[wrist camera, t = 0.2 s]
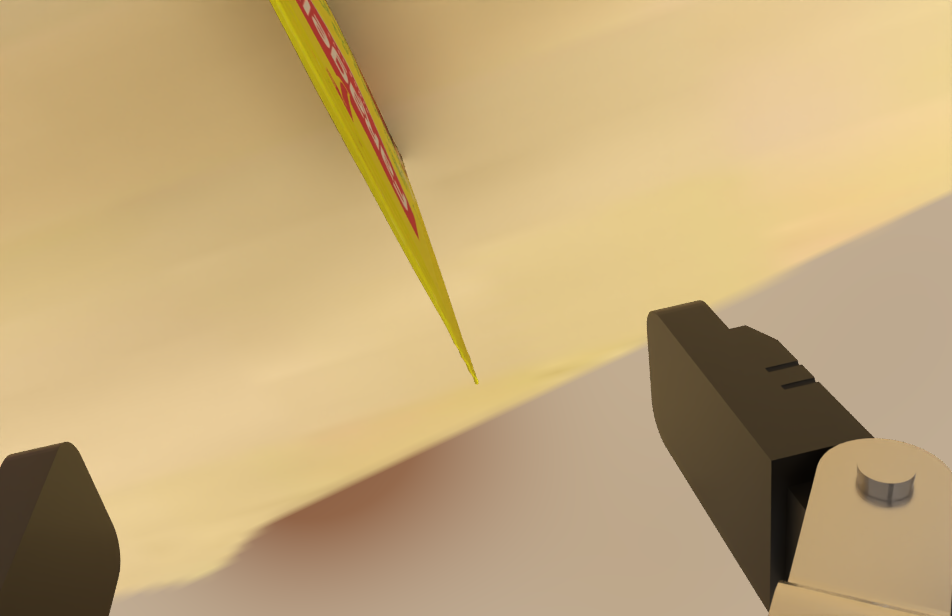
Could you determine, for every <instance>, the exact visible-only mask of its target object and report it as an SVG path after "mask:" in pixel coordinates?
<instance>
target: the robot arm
mask: <svg viewBox="0 0 952 616" xmlns="http://www.w3.org/2000/svg"><path fill="white" fill-rule="evenodd" d="M647 337H648V351H649V365H650V380H651V395H652V405H653V412H654V417H655V421H656V424H657V428H658V430H659V433H660V436H661V438H662V440H663V442H664V444H665V446H666V448H667V449H668V451H669V453H670V454H671V456H672V457H673V459H674V460H675V462H676V464H677V466H678V467H679V469H680V470H681V472H682V474H683V475H684V477H685V478H686V480H687V482H688V483H689V485H690V486H691V488H692V490H693V491H694V493H695V495H696V496H697V498H698V499H699V501H700V503H701V504H702V506H703V507H704V509H705V510H706V512H707V514H708V516H709V517H710V518H711V520H712V522H713V524H714V525H715V527H716V528H717V530H718V532H719V533H720V535H721V536H722V538H723V540H724V541H725V543H726V545H727V546H728V548H729V549H730V551H731V553H732V554H733V556H734V557H735V559H736V561H737V562H738V564H739V565H740V567H741V569H742V570H743V572H744V573H745V575H746V577H747V578H748V580H749V581H750V583H751V585H752V586H753V588H754V590H755V591H756V593H757V595H758V596H759V598H760V599H761V601H762V603H763V604H764V606H765V607H766V609H767V611H768V612H769V614H768V616H952V472H951V470H950V469H949V468H948V466H946V464H945V463H943V461H941V460H940V459H939V458H937V457H936V456H935V455H933V454H931V453H929V452H927V451H925V450H924V449H921V448H919V447H916V446H914V445H911V444H907V443H904V442H900V441H896V440H890V439H880V438H874V437H873V436H872V435H871V434H870V433H869V432H868V431H867V430H866V429H865V428H864V427H863V426H862V425H861V424H860V423H859V422H858V421H857V420H856V419H855V418H854V417H853V416H852V415H851V414H850V413H849V412H848V411H847V410H846V409H845V408H844V407H843V406H842V405H841V404H840V403H839V402H838V401H837V400H836V399H835V398H834V397H833V396H832V395H831V394H830V393H829V392H828V391H827V390H826V389H825V388H824V387H823V386H822V385H821V384H820V383H819V382H815V378H814V376H812V374H811V373H810V372H809V371H808V370H807V369H805V367H804V366H803V365H799V364H798V360H797V359H796V358H795V357H794V356H793V355H791V353H790V352H789V351H788V350H787V349H786V348H785V347H784V346H783V345H782V344H781V343H780V342H779V341H778V340H776V339H774V338H772V337H770V336H768V335H766V334H763V333H761V332H759V331H757V330H755V329H753V328H750V327H748V326H741V327H737V328H732V329H729V328H728V327H727V326H726V325H725V324H724V323H723V322H722V321H721V319H719V317H718V316H717V315H716V314H715V313H714V312H713V311H712V310H711V308H710V307H709V306H708V305H707V304H706V303H705V302H703V301H701V300H699V301H694V302H690V303H685V304H681V305H676V306H672V307H668V308H663V309H659V310H654V311H651V312H649V314H648V317H647ZM119 572H120V549H119V543H118V538H117V535H116V531H115V529H114V526H113V524H112V522H111V520H110V517H109V515H108V513H107V511H106V509H105V507H104V504H103V502H102V500H101V498H100V496H99V494H98V491H97V489H96V487H95V485H94V483H93V481H92V479H91V476H90V474H89V472H88V470H87V468H86V466H85V463H84V461H83V459H82V457H81V455H80V453H79V451H78V450H77V448H76V447H75V446H74V445H73V444H71V443H69V442H63V443H59V444H54V445H50V446H45V447H41V448H37V449H32V450H28V451H23V452H19V453H14V454H10V455H8V456H7V457H6V458H5V460H4V461H3V463H2V465H1V467H0V616H109V613H110V609H111V605H112V601H113V597H114V593H115V589H116V585H117V581H118V577H119Z"/></svg>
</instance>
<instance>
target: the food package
mask: <svg viewBox="0 0 952 616" xmlns="http://www.w3.org/2000/svg"><path fill="white" fill-rule="evenodd" d="M269 1H270V2H271V4H272V6H273V8H274V10H275V12H276V14H277V16H278V18H279V20H280V22H281V23H282V25H283V27H284V29H285V31H286V33H287V35H288V37H289V39H290V41H291V43H292V44H293V46H294V48H295V50H296V52H297V54H298V56H299V58H300V60H301V62H302V64H303V66H304V68H305V70H306V72H307V74H308V76H309V78H310V80H311V81H312V83H313V85H314V87H315V89H316V91H317V93H318V95H319V96H320V98H321V100H322V102H323V104H324V106H325V108H326V109H327V111H328V113H329V115H330V117H331V119H332V120H333V122H334V124H335V126H336V128H337V130H338V132H339V133H340V135H341V137H342V139H343V141H344V143H345V144H346V146H347V148H348V150H349V152H350V154H351V156H352V157H353V159H354V161H355V163H356V164H357V166H358V168H359V170H360V171H361V173H362V175H363V177H364V179H365V181H366V182H367V184H368V186H369V188H370V190H371V192H372V194H373V196H374V197H375V199H376V201H377V203H378V205H379V207H380V209H381V211H382V212H383V214H384V216H385V218H386V220H387V222H388V224H389V225H390V227H391V229H392V231H393V233H394V235H395V236H396V238H397V240H398V242H399V244H400V245H401V247H402V249H403V251H404V253H405V255H406V256H407V258H408V260H409V262H410V264H411V266H412V267H413V269H414V271H415V273H416V275H417V276H418V278H419V280H420V282H421V283H422V285H423V287H424V289H425V290H426V292H427V294H428V296H429V297H430V299H431V301H432V303H433V304H434V306H435V308H436V310H437V311H438V313H439V315H440V317H441V318H442V320H443V322H444V324H445V326H446V327H447V329H448V331H449V333H450V335H451V338H452V340H453V342H454V344H455V345H456V347H457V348H458V350H459V353H460V355H461V357H462V359H463V360H464V361H465V363H466V365H467V368H468V370H469V372H470V373H471V375H472V376H473V378H474V382H475V384H478V379H477V377H476V374H475V371H474V369H473V365H472V363H471V359H470V356H469V354H468V352H467V350H466V347H465V344H464V342H463V339H462V336H461V333H460V330H459V327H458V323H457V320H456V317H455V314H454V311H453V308H452V305H451V302H450V299H449V296H448V293H447V290H446V287H445V284H444V281H443V278H442V275H441V272H440V269H439V266H438V263H437V260H436V257H435V254H434V251H433V249H432V246H431V243H430V240H429V237H428V234H427V231H426V228H425V225H424V222H423V219H422V216H421V213H420V210H419V207H418V204H417V201H416V199H415V196H414V193H413V190H412V187H411V185H410V182H409V179H408V176H407V173H406V170H405V166H404V163H403V160H402V156H401V154H400V153H399V151H398V149H397V146H396V145H395V143H394V142H393V139H392V137H391V135H390V133H389V131H388V129H387V126H386V124H385V122H384V120H383V118H382V115H381V113H380V111H379V109H378V107H377V104H376V102H375V100H374V98H373V96H372V94H371V92H370V90H369V88H368V85H367V83H366V81H365V79H364V77H363V75H362V73H361V71H360V69H359V67H358V65H357V63H356V61H355V59H354V56H353V54H352V52H351V50H350V48H349V46H348V44H347V42H346V40H345V38H344V36H343V34H342V32H341V30H340V28H339V26H338V24H337V22H336V20H335V18H334V16H333V14H332V12H331V10H330V8H329V6H328V4H327V2H326V0H269Z"/></svg>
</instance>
